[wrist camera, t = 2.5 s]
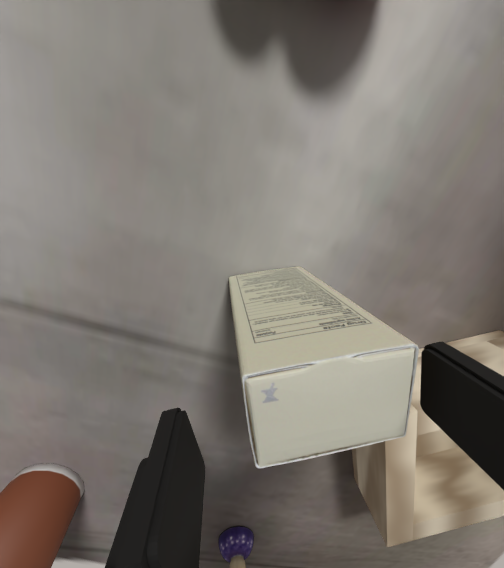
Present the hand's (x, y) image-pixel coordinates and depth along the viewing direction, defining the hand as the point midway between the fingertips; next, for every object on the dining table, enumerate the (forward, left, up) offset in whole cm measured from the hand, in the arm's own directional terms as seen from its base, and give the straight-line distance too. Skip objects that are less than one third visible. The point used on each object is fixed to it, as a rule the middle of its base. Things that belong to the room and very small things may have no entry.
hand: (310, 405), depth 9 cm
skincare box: (0, 0, -12) cm, 12 cm away
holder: (-14, +17, -11) cm, 25 cm away
